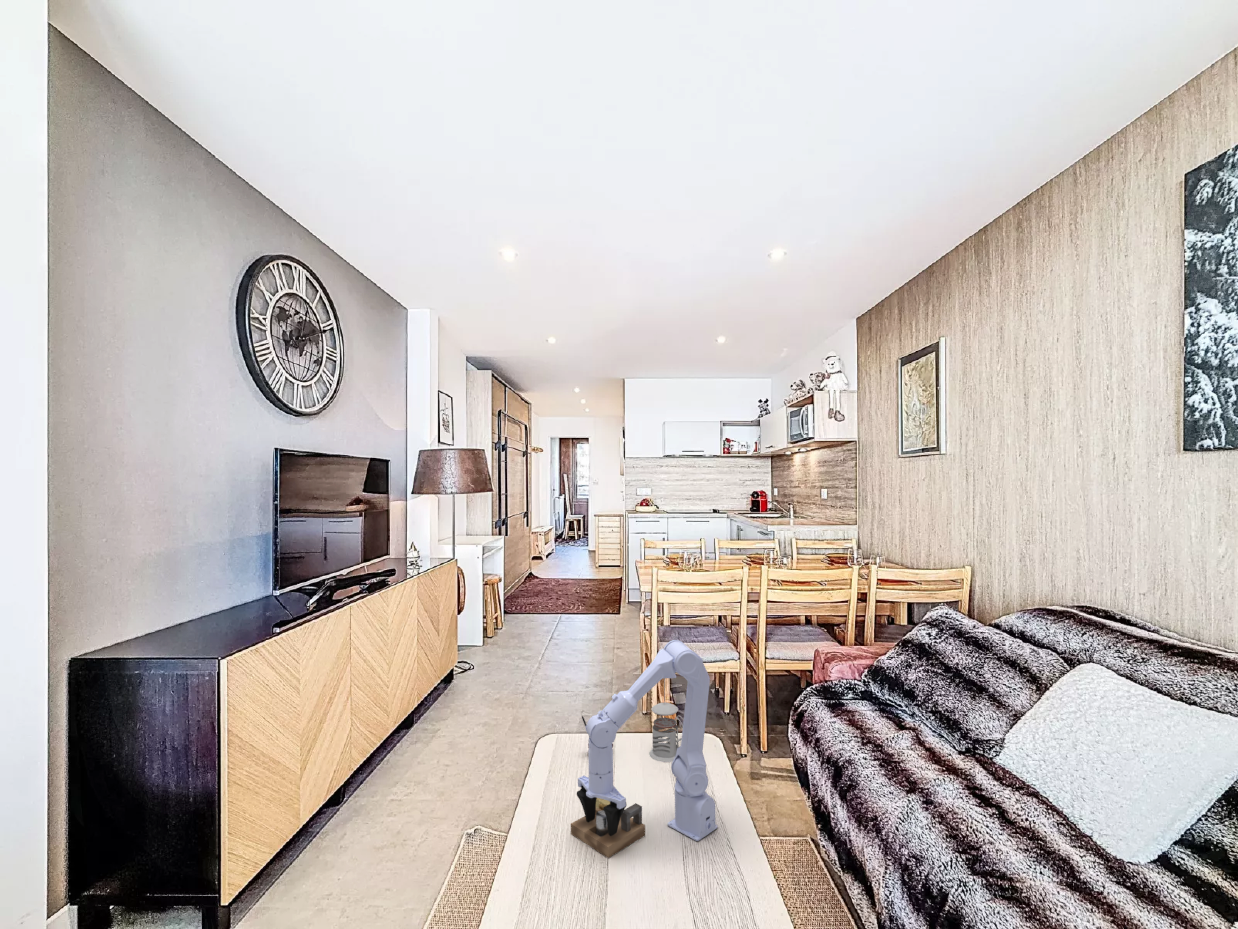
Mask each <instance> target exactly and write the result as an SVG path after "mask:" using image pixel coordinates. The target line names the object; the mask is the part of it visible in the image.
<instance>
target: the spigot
mask: <svg viewBox="0 0 1238 929" xmlns="http://www.w3.org/2000/svg"><path fill="white" fill-rule="evenodd" d="M607 833H608V828H607V819H606V815H605V812H604V811H598V812H597V813H596V834H597V835H598V836H600V837H602V836H604V835H606V834H607Z"/></svg>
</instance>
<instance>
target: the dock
mask: <svg viewBox="0 0 1238 929" xmlns="http://www.w3.org/2000/svg"><path fill="white" fill-rule="evenodd" d="M598 811H602V810H601V809H599V808H597V807H596V813H597V812H598ZM596 813H595V819H594V820H592V821H590V822H589V823H588V822H587V821H586V817H585V815H584V816H583V817H581V818H578V819H576V820H574V821H573V822H571V823H570V835H572V836H574V837H575V838H577V839H578V841H581V842H582V843H584V844H585V845H587V846H588V847H590V848H592V849H593V850H595V851H596V852H598V853H599V854H601V855H603V857H606V858H607V859H609V858H611V857H613V856H615V855H616V854H618V853H620V852H621V851H623V850H625V849H626V848H627V847H629V846H630V845H632V844H634V843H636V842H638V841H639V840H641V839H642V838H644V837H645V836H646V824H644V823H643V806H642V805H640V804H638V803H633V804H632V805H630V806H628V807H627V808H625V809H624V811H623V813H622V815H621V818H620V821H619V825H618V829H617V833H615V834H614V835H612V836H610V835H609V834H608V833H607V834H606V835H604V836H602V837H600V836H598V835H597V834H596Z"/></svg>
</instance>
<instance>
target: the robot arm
mask: <svg viewBox="0 0 1238 929" xmlns="http://www.w3.org/2000/svg"><path fill="white" fill-rule="evenodd" d="M676 673H677V674H678V675H680V677H683V678H684V679H685V680H686V682H687V684H686V685H687V686H686V694H685V702H684V712H683V713H684V714H683V719H684V721H683V720H682V724H683V726H682V731H681V738H682V740H681V741H680V746H678V748H677V752H676V756H675V758H674V760H673V761H672V762H671V773H672V775H673V776H674V777H675V783H674V818H673V819H672V820H669V821H668V822H667V826H668V827H670V828H672V829H674V830H675V831H677V832H679V833H681V834H683V835H685V836H687V837H688V838H691V839H692V840H694V841H696V842H699V841H700V840H702V839H703V838H705V837H706V836H707V835H709V834H710V833H712V832H713V831H714V830H716V829H717V828H718V824H716V801H715V800H714V798H713V797H711V796H710V795H709V794H708V793H707V791H706V790H707V788H708V786H709V778H708V775H707V763H706V760H705V756H704V753H703V752H704V751H703V748H704V739H705V731H706V721H707V711H708V702H709V693H710V683H711V682H710V681H711V679H710V675H709V673H708V670H707V668H706V666H705V664H704V659H703V658H702V657H701V656H700V655H699V654H698V653H696V652H695V651H693V650H692V649H691V648H689V646H687V645H686V644H685V643H684V642H683V641H681V640H678V639H673V640H670V641H668V642H667V643H666V644H665V645H664V647H663V648H661V649H660V650H658V652H657V653H656V655H655V657H654V659H653V660H652V662H651V663H650V664H649V665H648V666H647V667H646V668H645V669H644V671H643V672H642V673H641V674H640V675H639V677H638V678H637V679H636V680H635V682H634V683H633V684H632V685H631V686H630V687H629V689H628V690H620V691H618V693H614V694H613V695H612V696H611V700H610V701H609V702H608V703H607V704H606V705H605V707H604V708H603V709H602V710H601V709H599V711H597V713H596V714H595V715H592V716H591V717H590V718H588V721H587V722H586V725H587V726H585V725H584V727H585V728H584V729H585V731H586V733H587V735H588V739H589V748H588V752H587V754H588V755H587V756H588V758H587V760H588V776H587V775H582V776H580V777H578V778H577V787H579V788H580V789H579V790H578V791H576V796H577V798H578V800H579V802H580V804H581V806H582V809H583V810H582V811H583V813H584V816H585V817H586V821H587V822H588V823H589V822H590V821H592V820H594V819H595V813H596V799H597V798H600V799H604V800H608V801H610V804H609V805H607V806H605V807H603V810H604V812H605V815H606V819H607V828H608V834H609V835H610V836H612V835H614V834H615V833H617V829H618V825H619V821H620V818H621V815H622V813H623V811H624V810H625V809H626V807H627V798H626V796H624V795H622V793H621V792H620V790H618V789H617V788H616V787H615V786H614V752H613V751H614V749H613V748H612V743H613V744H614V742H615V740H616V737H617V733H618V731H619V730H620V728H621V727H622V726H623V725H624V724H625V723H627V721H628V720H629V719H630V718H631V717H632V715H634V714H635V712H637V710H638V703H639V701H640V700H641V699H642V698H643V697H644V696H645V695H647V693H649V692H650V691H651V690H652V689H653V688H654V687H655V686H656V685H657V684H658V683H660V682H661V680H662V679H663V680H664V678H665V679H676V678H677V675H676ZM589 736H590V737H589Z"/></svg>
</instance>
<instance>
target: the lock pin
mask: <svg viewBox="0 0 1238 929" xmlns="http://www.w3.org/2000/svg"><path fill="white" fill-rule="evenodd" d="M609 804H610V801H608V800H604V799H600V798H597V799H596V807H597V808H599V809H601V810H602V811H604V810H603V807H605V806H607V805H609Z"/></svg>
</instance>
